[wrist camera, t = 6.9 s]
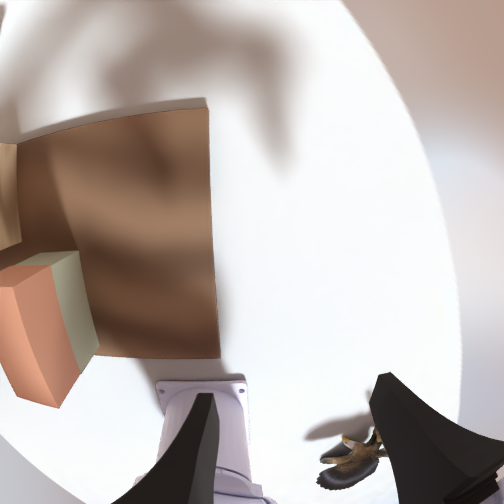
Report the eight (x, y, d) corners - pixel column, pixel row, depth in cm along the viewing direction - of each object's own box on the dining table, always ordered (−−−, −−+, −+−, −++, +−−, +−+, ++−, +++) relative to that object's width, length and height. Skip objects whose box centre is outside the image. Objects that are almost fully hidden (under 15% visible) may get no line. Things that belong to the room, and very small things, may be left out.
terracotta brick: (80, 373, 16) (58, 408, 12) (40, 366, 15) (16, 396, 12) (50, 264, 14) (12, 287, 10) (10, 265, 14) (-27, 285, 10)
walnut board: (220, 351, 22) (220, 358, 21) (14, 338, 20) (9, 342, 19) (208, 111, 17) (208, 107, 16) (-16, 159, 16) (-22, 159, 15)
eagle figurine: (356, 417, 24) (300, 471, 24) (404, 454, 19) (342, 509, 19) (368, 412, 30) (322, 459, 29) (407, 442, 25) (358, 489, 24)
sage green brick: (99, 345, 20) (81, 373, 16) (62, 342, 19) (41, 367, 16) (78, 250, 18) (50, 266, 14) (40, 252, 17) (10, 267, 14)
